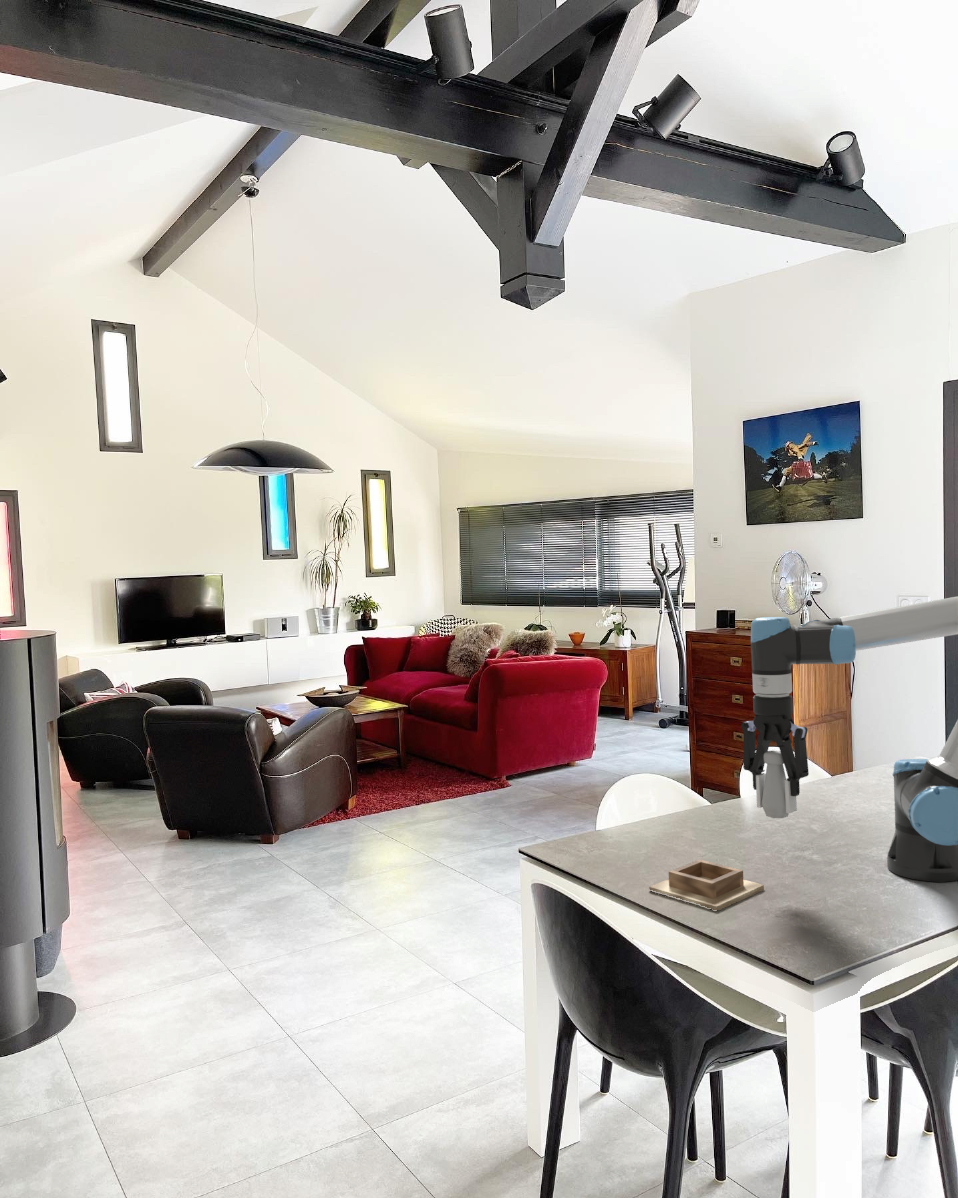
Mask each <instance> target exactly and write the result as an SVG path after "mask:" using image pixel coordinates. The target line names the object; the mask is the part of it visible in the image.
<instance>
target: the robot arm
mask: <svg viewBox="0 0 958 1198" xmlns="http://www.w3.org/2000/svg"><path fill="white" fill-rule="evenodd" d="M956 635H958V596H951V597H947V598H940V599H935V600H931V601H924V602H919V603H918V602H917V603H913V604H907V605H902V606H897V607H889V608H884V609H879V610H873V611H867V612H862V613H856V614H850V615H844V616H840V617H835V618H834V617H833V618H827V619H823V620H821V619H813V620H809V621H807V622H805V623H804V624H803V625H801V626H794V625H791V623H790V619H789V618H788V617H785V616H763V617H762V616H761V617H756V618H754V619H753V620H752V622H751V623H750V654H751V670H752V671H751V673H752V674H751V675H752V692H753V693H754V694H755V695H753V697H752V702H753V703H752V704H753V713H754V718H753V720H747V721H744V722H742V723H741V729H742V732H743V761H742V762H743V764H742V765H743V766H742V767H743V769H744V771H748V772H750V773H751V775H752V788H753V790H755V791H756V808H758V809H759V808H760V809H761V808H763V807H762V796H763V790H764V784H765V777H766V770H765V769H764V768H765V764H766V763H765V762H764V753H765V752H767V751H769V748H770V744H771V742H775V743H776V746H777V747H778V749H779V751H780V752H781V755H782V758H783V762H784V764H783V766H784V767H785V768H784V769H785V771H786V772H785V773H786V774H787V777H786V780H785V799H786V813H789V814H791V813H793V812H796V811H797V810H798V807H797V797H798V796H800V793H801V792H800V779H803V778H806V777H808V776H809V775H810V774H809V764H808V762H809V761H808V751H807V740H806V739H807V735H808V727H806V726H800V725H797V724H795V722H794V720H793V711H794V710H793V709H794V708H793V707H794V705H793V696H792V695H791V693H792V692H793V682H792V679H793V678H792V677H793V676H792V665H833V664H834V665H835V666H836V665H841V664H851V663H853V662H854V661H855V658H856V652H857V651H858V652H859V651H861V650H862V651H863V650H868V649H875V648H881V647H886V646H887V647H888V646H893V645H899V644H907V643H913V642H918V641H924V640H931V639H937V638H942V637H949V636H956ZM756 730H757V732H758V735H757V739H756ZM791 732H792V734H791ZM790 734H791V735H792V737H793V746H792V738H791V735H790ZM756 742H757V745H756ZM943 745H944V746H943V748H942V749H941V752H940V753H939V755H938V756H935V757H932V758H906V759H905V758H904V759H898V760H896V761H895V762H894V764H893V772H892V776H893V791H894V793H893V796H894V799H893V800H894V829H895V830H894V834H893V837H892V839H891V843H890V845H889V849H888V852H887V857H886V864H887V865H886V867H887V869H888V870H889V871H890V872H892V873H893V874H895V875H898V876H900V877H902V878H903V877H904V878H906V879H912V880H917V881H923V882H934V883H935V882H938V883H942V882H943V883H946V882H955V881H958V719H957V720H956V722H955V724H954V726H953V728H952V730H951V731H950V734H949V736H948V738H947V740H946V742H945V744H943Z"/></svg>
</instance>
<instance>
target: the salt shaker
mask: <svg viewBox="0 0 958 1198" xmlns="http://www.w3.org/2000/svg"><path fill="white" fill-rule="evenodd" d="M764 762H765V764H766V770H765V773H766V777H765V784H764V790H763V796H762V807H761V808H762V809H763V811H764V814H765V816H766V817H768V818H771V819H784V818H787V817H789V814H790V813H786V799H785V780H787V776H786V772H785V771H786V770H785V768H784V767H785V766H784V762H783V758H782V755H781V752H780V750H775V749H774V750H773V749H772V750H768V751H767V752H765V753H764Z"/></svg>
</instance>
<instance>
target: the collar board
mask: <svg viewBox="0 0 958 1198" xmlns="http://www.w3.org/2000/svg"><path fill="white" fill-rule="evenodd" d="M648 887H649V889H650V890H653V891H656V892H660V893H662V894H667V895H669V896H673V897H676V898H680V899H682V900H686V901H689V902H694V903H696V904H700V905H701V906H705V907H707V908H711V909H713V910H719V911H721V910H723V909H722V908H724V909H725V907H726V908H727V906H728V907H730V906H732V905H734V904H736V902H737V903H740V901H743V900H745V899H747V898H749V897H751V896H753V895H756V894H758V893H761V892H763V891H764V890H765V885H764V884H761V883H759V882H754V881H752V880H751V881H750V880H747V879H744V870H743V869H739V868H735V867H731V866H728V865H723V864H720V863H715V862H711V861H707V860H705V859H704V860H703V859H697V860H695V861H692V862H690V863H688V864H685V865H682V866H679V867H677V868H675V869H674V868H673V869H672V870H669V871H668V879H665V880H663V881H660V882H657V883H655V884H652V885H651V886H648ZM649 889H648V890H649ZM731 904H732V905H731ZM720 909H721V910H720Z"/></svg>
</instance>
